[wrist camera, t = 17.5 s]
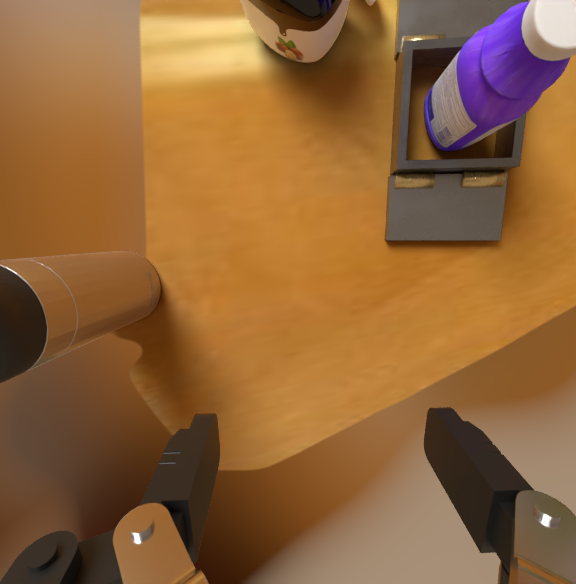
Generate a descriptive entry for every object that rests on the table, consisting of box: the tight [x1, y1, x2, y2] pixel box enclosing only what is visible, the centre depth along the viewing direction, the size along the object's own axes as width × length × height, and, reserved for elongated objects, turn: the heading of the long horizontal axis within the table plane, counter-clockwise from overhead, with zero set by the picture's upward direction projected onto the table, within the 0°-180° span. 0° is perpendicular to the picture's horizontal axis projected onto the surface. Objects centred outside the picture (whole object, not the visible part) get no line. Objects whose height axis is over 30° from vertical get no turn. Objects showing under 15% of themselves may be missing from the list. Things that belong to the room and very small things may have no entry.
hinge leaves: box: [385, 0, 528, 240], centre depth 32 cm, size 12×26×4 cm, turn 0°
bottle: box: [424, 0, 576, 151], centre depth 25 cm, size 7×6×17 cm
